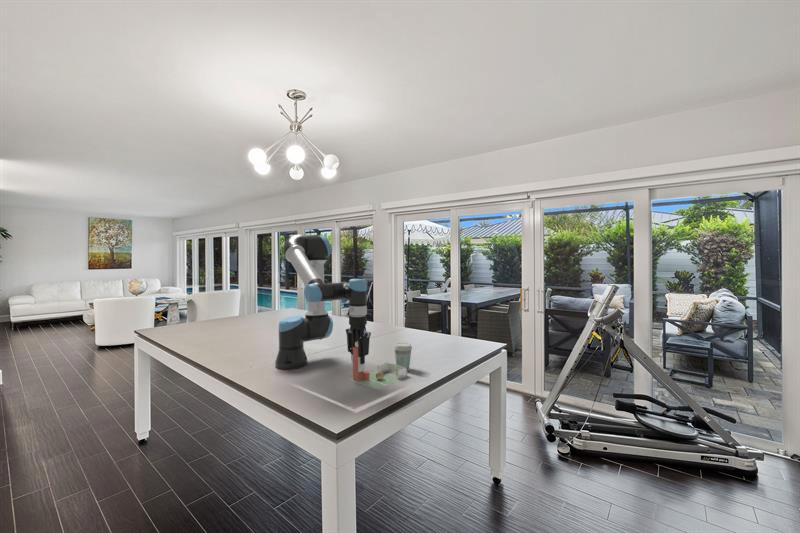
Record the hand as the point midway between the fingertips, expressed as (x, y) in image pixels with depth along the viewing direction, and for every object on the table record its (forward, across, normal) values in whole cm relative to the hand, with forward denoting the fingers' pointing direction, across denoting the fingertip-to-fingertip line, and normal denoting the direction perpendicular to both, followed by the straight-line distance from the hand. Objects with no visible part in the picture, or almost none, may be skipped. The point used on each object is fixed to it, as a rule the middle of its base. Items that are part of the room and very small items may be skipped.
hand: (358, 370), depth 148 cm
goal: (+5, +7, +14) cm, 17 cm away
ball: (+2, +7, +6) cm, 10 cm away
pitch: (+5, +5, +4) cm, 8 cm away
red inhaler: (+4, 0, 0) cm, 4 cm away
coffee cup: (+5, +4, +25) cm, 26 cm away
